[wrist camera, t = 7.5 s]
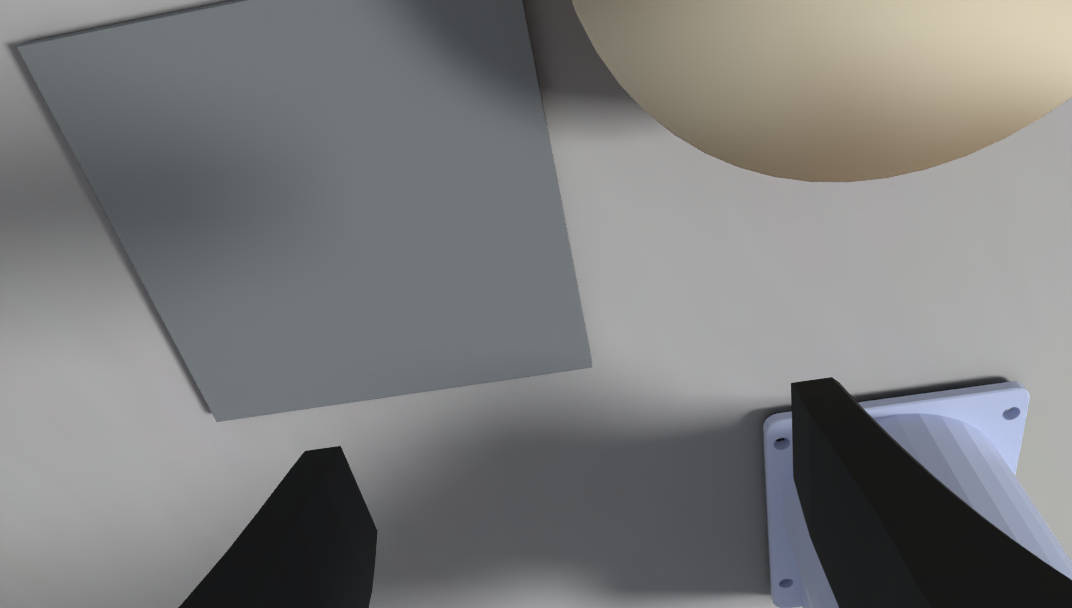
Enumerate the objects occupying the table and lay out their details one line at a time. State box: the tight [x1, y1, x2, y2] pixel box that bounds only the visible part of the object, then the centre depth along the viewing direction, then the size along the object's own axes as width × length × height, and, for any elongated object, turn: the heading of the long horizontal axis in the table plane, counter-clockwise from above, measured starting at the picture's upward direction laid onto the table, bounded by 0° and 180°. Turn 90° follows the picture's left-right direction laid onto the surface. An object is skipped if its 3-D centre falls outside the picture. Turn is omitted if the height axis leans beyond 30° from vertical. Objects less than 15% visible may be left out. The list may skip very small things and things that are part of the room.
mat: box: [17, 0, 592, 422], centre depth 22 cm, size 12×12×1 cm
